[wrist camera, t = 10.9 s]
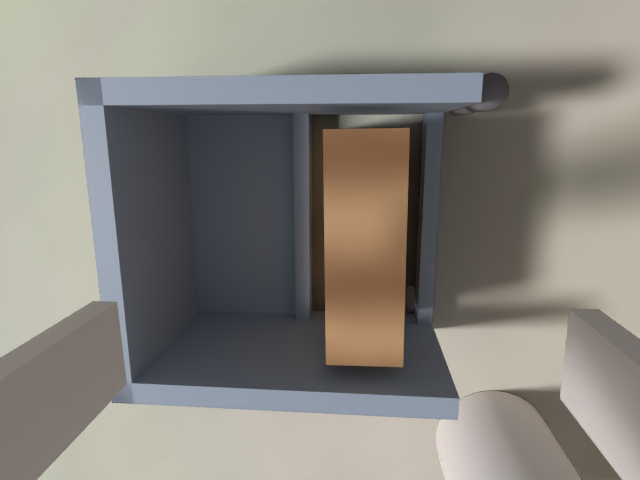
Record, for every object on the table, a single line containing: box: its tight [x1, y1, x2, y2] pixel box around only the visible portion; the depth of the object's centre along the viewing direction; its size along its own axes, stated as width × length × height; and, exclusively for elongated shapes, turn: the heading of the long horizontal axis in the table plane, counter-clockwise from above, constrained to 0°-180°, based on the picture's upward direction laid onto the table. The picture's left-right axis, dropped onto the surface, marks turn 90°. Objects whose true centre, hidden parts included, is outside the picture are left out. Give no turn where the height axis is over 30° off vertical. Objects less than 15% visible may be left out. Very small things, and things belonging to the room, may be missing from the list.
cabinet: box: [75, 72, 509, 420], centre depth 27 cm, size 17×20×11 cm
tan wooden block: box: [323, 128, 415, 367], centre depth 27 cm, size 12×5×10 cm, turn 1°
